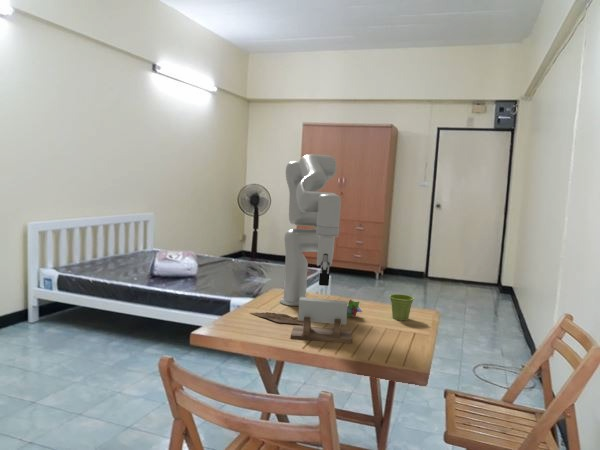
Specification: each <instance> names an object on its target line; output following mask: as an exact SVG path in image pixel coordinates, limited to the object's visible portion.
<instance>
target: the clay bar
mask: <svg viewBox="0 0 600 450" xmlns="http://www.w3.org/2000/svg"><path fill="white" fill-rule="evenodd" d="M348 303H349V300H340V299H339V300H338V299H329V298H328V299H327V298H315V297H306V298H305V297H301V298H300V299H299V306H298V315H297V316H298V317H297V318H298V320H299V321H304V317H310V322H311V323H322V324H323V323H325V324H333V325H334V320H335V319H341V323H340V325H344V326H345V325H347V319H348V318H347V317H348V316H347V306H348Z"/></svg>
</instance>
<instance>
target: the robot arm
mask: <svg viewBox="0 0 600 450" xmlns="http://www.w3.org/2000/svg"><path fill="white" fill-rule="evenodd" d="M337 170H338V165H337V161H336V159H335V158H334V157H333V156H332V155H327V154H314V153H313V154H312V153H308V154H305V155H304V156H303V155H302V157H301V158H300V159H299V160H292V161H289V162H288V163H286V167H285V179H286V183H287V188H288V191H289V196H288V197H289V202H288V203H289V204H288V220H289V223H290V224H291V225H292V226H293V225H294V226H302V227H303V226H305V227H313V228H314V229H311V228H309V229H308V228H291V229H288V230H287V231H286V232H285V234H284V237H283V238H284V239H283V240H284V250H285V263H284V283H283V284H284V285H283V286H284V287H283V297H281V298H279V302H280V303H281V304H282V305H286V306H292V307H299V299H300V298H301V297H305V298H307V286H308V284H307V282H308V268H309V267H308V266H309V264H308V263H309V262H308V260H307V258H306V256H305V255H304V254H303V253H305V252H307V253H311V252H312V253H313V252H315V253H317V255H316V266H317V267H319V266H320V272H319V274H318V275H319V276H318V286H322V287H323V286H325V287H326V286H327V287H328V286H329V285H330V284H329V283H330V274H331V273H330V272H331V268H330V267H332V265H333V264H332V263H333V259H334V252H335V240H336V238H339V237H340V235H339V233H340V223H341V220H340V219H341V210H342V209H341V206H342V197H341V195H338V194H336V193H335V192H327V191H326V192H324V191H320V190H322V189H324V188H325V187H326V184H327V182H328V181H330V180H331V179H333V178H334V176H335V175H336V174H337Z"/></svg>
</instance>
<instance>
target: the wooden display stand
mask: <svg viewBox="0 0 600 450" xmlns="http://www.w3.org/2000/svg"><path fill="white" fill-rule="evenodd" d="M340 323H341V319H335V320H334V324H333V328H332V327H331V328H330V327H316V326H312V322H310V317H304V325H303V326H302V325H293V326H292V329H291V333H290V337H289V338H290V339H291V340H292V339H294V340H307V341H309V340H310V341H318V342H330V343H344V344H346V343H348V344H352V343H353V336H352V330H351V329H342V328H341V324H340Z"/></svg>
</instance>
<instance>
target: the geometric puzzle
mask: <svg viewBox="0 0 600 450" xmlns="http://www.w3.org/2000/svg"><path fill="white" fill-rule="evenodd" d="M359 305H360V301H354V300H352V299H349V300H348V304H347V317H349V318H350V319H351V318H353V319H354V320H355V319H356V318H357V316H359V315H360V314H361V313H363V310H362V309H361V308H360V307H359ZM358 313H359V314H358Z"/></svg>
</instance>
